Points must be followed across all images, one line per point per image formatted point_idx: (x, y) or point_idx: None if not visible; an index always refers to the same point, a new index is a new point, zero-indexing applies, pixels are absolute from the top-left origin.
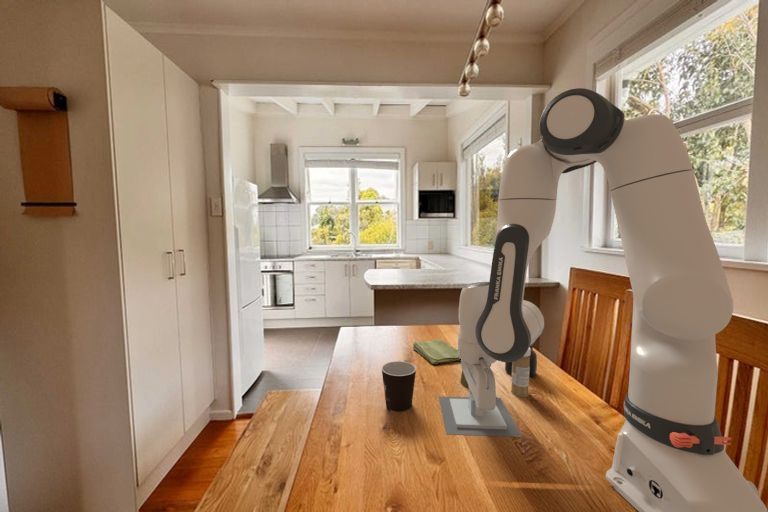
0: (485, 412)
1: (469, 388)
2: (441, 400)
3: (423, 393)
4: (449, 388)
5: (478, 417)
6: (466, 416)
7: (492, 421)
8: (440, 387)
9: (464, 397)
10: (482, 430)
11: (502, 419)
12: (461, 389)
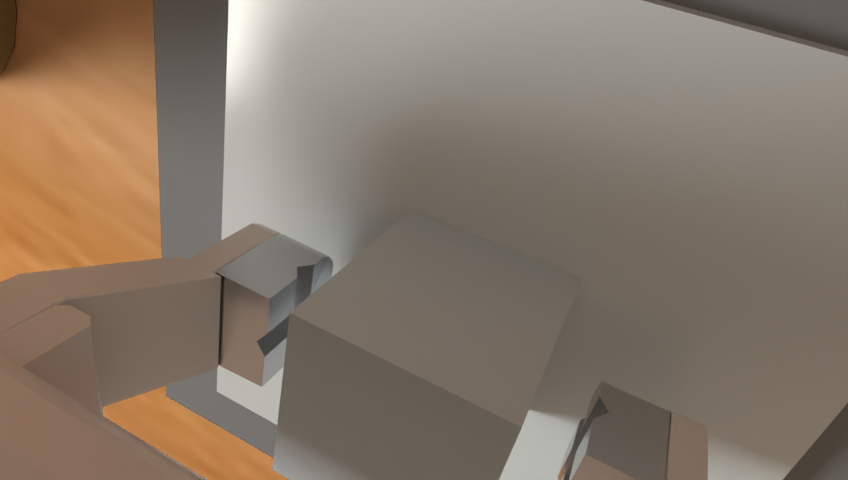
0: (529, 221)
1: (147, 388)
2: (222, 415)
3: (127, 427)
4: (31, 211)
5: (612, 376)
6: (547, 471)
7: (792, 277)
8: (32, 271)
9: (168, 203)
10: (837, 440)
11: (820, 74)
12: (24, 111)
